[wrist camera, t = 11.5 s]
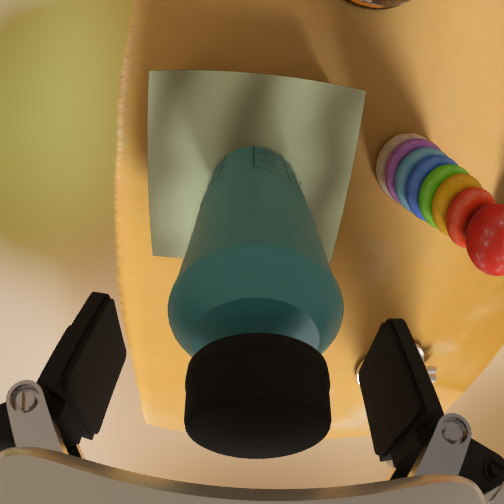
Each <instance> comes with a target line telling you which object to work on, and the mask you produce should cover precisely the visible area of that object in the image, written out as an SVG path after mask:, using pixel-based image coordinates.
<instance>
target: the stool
mask: <svg viewBox="0 0 504 504" xmlns="http://www.w3.org/2000/svg"><path fill="white" fill-rule="evenodd" d="M365 94H366V91H364V90H360V89H356V88H351V87H346V86H341V85H336V84H331V83H325V82H320V81H314V80H307V79H301V78H293V77H286V76H278V75H269V74H258V73H247V72H232V71H210V70H161V71H149V87H148V188H149V209H150V226H151V240H152V252H153V256H163V257H174V258H184V256H185V253H186V250H187V247H188V244H189V241H190V238H191V235H192V233H193V230H194V225H195V223H196V219H197V216H198V215H197V214H198V213H199V210H200V205H201V202H202V200H203V197H204V196H203V195H204V194H205V191H207V186H208V185H209V182H210V180H208V179H211V177H212V176H211V175H213V173H212V172H214V171H213V170H215V169H214V167H215V168H216V166H217V164H218V163H219V162H220V161H221V160H222V159H223V158H224V157H226V156H227V155H228V154H230V153H231V152H233V151H235V150H238V149H241V148H245V147H253V146H254V145H255V146H254V147H263V148H268V147H269V148H268V149H271V150H272V151H274V152H276V153H278V154H279V155H280V153H281V155H282V157H283V158H284V159H285V160H286V161H287V162H288V163H290V162H291V163H290V164H291V165H292V166H293V167H292V166H291V168H292V170H293V172H294V171H295V172H294V174H295V173H296V174H297V175H296V174H295V175H296V178H298V177H299V178H298V179H300V180H298V179H297V181H298V183H299V185H300V182H299V181H301V185H300V188H301V190H302V192H303V195H304V197H306V198H305V199H306V202H307V204H308V207H309V209H310V211H311V214H312V216H313V215H314V216H313V219H314V222H315V221H316V223H315V225H316V228H317V232H318V234H319V237H320V240H321V237H322V240H321V242H322V245H323V248H324V251H325V254H326V256H327V259H328V262H329V265H330V263H331V259H332V255H333V251H334V247H335V243H336V239H337V235H338V231H339V227H340V222H341V218H342V214H343V210H344V205H345V201H346V196H347V192H348V187H349V182H350V177H351V173H352V168H353V163H354V158H355V153H356V147H357V142H358V136H359V131H360V125H361V119H362V113H363V107H364V101H365ZM257 145H259V146H257ZM264 146H265V147H264ZM273 149H274V150H273ZM275 150H276V151H275ZM277 151H278V152H277ZM225 155H226V156H225ZM283 155H284V156H283ZM221 157H222V158H221ZM220 158H221V159H220ZM219 159H220V160H219ZM218 160H219V161H218ZM217 162H218V163H217ZM290 164H289V165H290ZM215 165H216V166H215ZM294 169H295V170H294ZM210 174H211V175H210ZM208 181H209V182H208ZM207 183H208V184H207ZM201 196H202V197H201ZM199 202H200V203H199ZM309 203H310V204H309ZM198 204H199V205H198ZM312 209H313V210H312ZM317 220H318V221H317ZM192 223H193V224H192ZM191 229H192V230H191ZM320 232H321V233H320Z"/></svg>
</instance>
